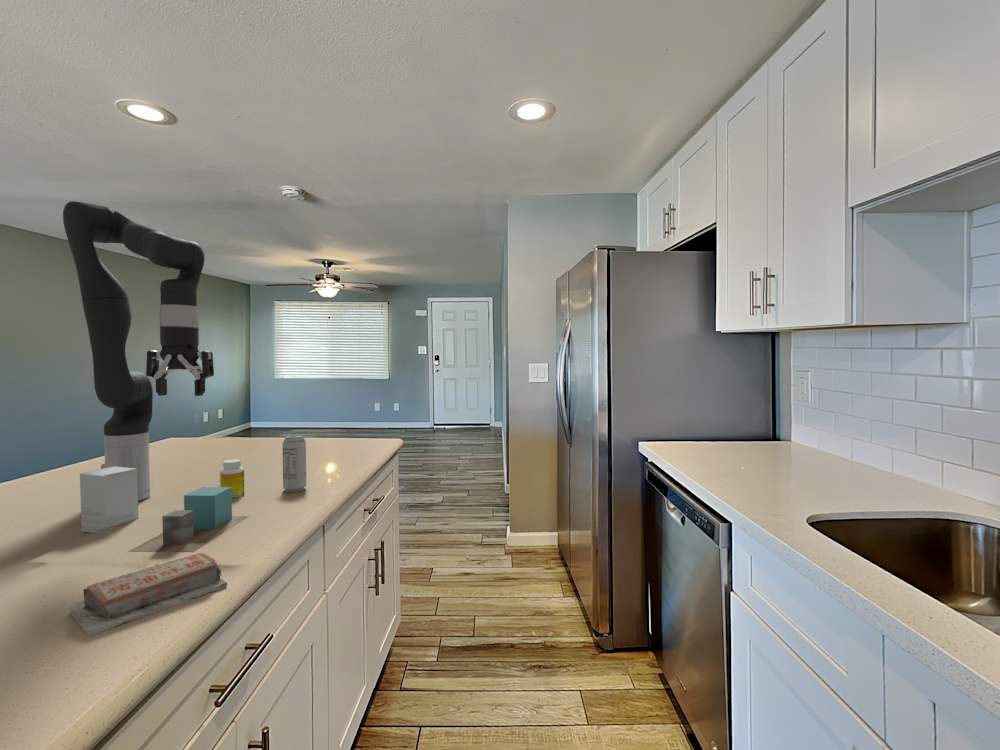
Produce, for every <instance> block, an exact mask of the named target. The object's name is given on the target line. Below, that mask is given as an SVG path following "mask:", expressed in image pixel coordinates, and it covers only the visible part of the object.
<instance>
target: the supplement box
mask: <svg viewBox="0 0 1000 750" xmlns="http://www.w3.org/2000/svg"><path fill="white" fill-rule="evenodd" d="M79 489H80V490H79V491H80V496H79V497H80V519H81V523H80V524H81V532H84V533H89V534H90V533H91V534H94V533H96V532H99V531H101V530H103V529H104V530H105V529H108V528H112V527H115V526H119V525H121V524H125V523H128V522H131V521H134V520H137V519H139V501H138V488H137V469H136V468H125V467H116V466H114V467H109V468H104V469H101V468H99V469H95V470H90V471H85V472H82V473H81V472H80V473H79Z"/></svg>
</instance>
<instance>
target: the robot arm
mask: <svg viewBox="0 0 1000 750" xmlns="http://www.w3.org/2000/svg"><path fill="white" fill-rule="evenodd" d="M62 221H63V226H64V231H65V235H66V239H67V241H68V245H69V247H70V252H71V255H72V257H73V261H74V265H75V269H76V272H77V278H78V283H79V288H80V295H81V296H80V297H81V302H82V306H83V313H84V317H85V322H86V326H87V331H88V336H89V337H88V338H89V344H90V349H91V354H92V364H93V365H92V366H93V383H94V390H95V394H96V396H97V397H96V398H97V399H98V400H99V402H100V403H101V404H102V405H104V406H105V407H108V408H111V409H113V413H112V414H111V417H110V418H109V419H108V420H107V421H106V422H105V423H104V425H103V443H104V463H102V464H101V465H100V469H104V468H109V467H114V466H116V467H125V468H136V469H137V488H138V502H139V501H143V500H145V499H148V498H150V496H151V475H150V474H151V470H150V468H151V466H150V437H149V436H150V434H149V433H150V429H149V427H150V424H151V421H152V418H153V399H154V397H153V396H154V395H153V394H154V393H153V385H152V382H151V380H150V378H149V377H151V378H153V379H154V380H155V392H156V393H157V395H158V396H159V397H160V396H167V395H168V380H167V379H166V378H167V377H168V376H169V375H170V373H171V372H173V371H174V370H187V371H188V372H189V373H191V375H192V376H193V377H194V378H195V379H194V397H201V396H203V395H204V394H205V392H206V379H208V378H212V377H214V375H215V367H214V357H213V356H214V355H213V352H212V351H211V350H202V351H199V345H200V339H199V337H200V334H199V332H200V329H199V325H200V323H199V313H198V306H197V305H198V301H197V300H198V299H197V297H198V296H197V291H198V285H199V282H200V279H201V276H202V272H203V268H204V265H205V258H206V257H205V252H204V250H203V248H202V246H201V245H200V244H198V243H197V242H196V241H192V240H189V239H183V238H179V237H174V236H169V235H167V234H166V233H164V232H162V231H161V230H157V229H155V228H152V227H149V226H146V225H142V224H140V223H137V222H135V221H133V220H132V219H130V218H128V217H127V216H126V215H124V214H122V213H121V212H119V211H117V210H116V209H114V208H111V207H109V206H104V205H100V204H93V203H88V202H82V201H77V200H76V201H75V200H73V201H72V200H71V201H68V202H67V203H66V204H65V205H64V208H63V211H62ZM94 243H99V244H100V243H101V244H120V245H122V244H123V245H124V247H125V248H127V250H129V252H131V253H133V254H135V255H138V256H139V257H143V258H146V259H147V260H149V261H150V262H151V263H152V264H154V265H157V266H160V267H162V268H167V269H174V270H179V272H178V273H179V274H178V275H177V277H176V278H167V279H164V280H162V281H161V283H160V292H159V293H160V311H159V344H160V346H161V350H160V351H159V350H148V351H146V367H145V368H146V373H144V372H142V371H139V370H130V369H129V365H128V361H127V360H128V359H127V356H126V347H127V346H126V344H127V340H128V337H129V333H130V330H131V325H132V311H131V306H130V301H129V296H128V293H127V291H126V289H125V288H124V285H122V284H121V283H120V281H119V280H118V279H117V278H116V277H115V275H113V274H112V272H111V271H110V270H109V269H108V268H107V267H106V265H105V264H104V263H103V262H102V260H101V259H100V257H99V255H98V253H97V250H96V247H95V244H94ZM160 359H162V362H161V363H160ZM199 359H200V361H201V365H200V364H199V362H198V360H199Z"/></svg>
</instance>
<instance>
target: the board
mask: <svg viewBox="0 0 1000 750" xmlns="http://www.w3.org/2000/svg"><path fill="white" fill-rule="evenodd" d="M247 518H249V515H232V519H231V520H229V521H227V522H226V523H224V524H223V525H221V526H219V527H218V528H216V529H193V510H184V509H183V510H182V509H181V510H178V509H175V510H172V511H170V512H168V513H166V514H164V515H162V519H161V520H162V522H161V523H162V533H160V534H158V535H156V536H155V537H152V538H151V539H149V540H147V541H144V543H141V544H140V545H138V546H135V547H134V548H131V549H130V550H129V552H134V553H135V552H142V553H144V552H148V553H149V552H150V553H156V552H157V553H159V552H160V553H162V552H163V553H167V552H168V553H194V552H195V551H197V550H199V549H201V548H202V547H204V546H205V545H207V544H208V543H210V542H212V541H213V540H214V539H216V538H217V537H219V536H221V535H222V534H224V533H225V532H227V531H229V530H230V529H232V528H233V527H235V526H236V525H239V523H241V522H242V521H245V519H247Z"/></svg>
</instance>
